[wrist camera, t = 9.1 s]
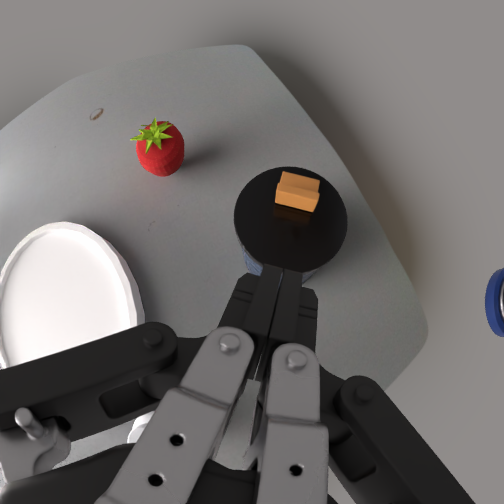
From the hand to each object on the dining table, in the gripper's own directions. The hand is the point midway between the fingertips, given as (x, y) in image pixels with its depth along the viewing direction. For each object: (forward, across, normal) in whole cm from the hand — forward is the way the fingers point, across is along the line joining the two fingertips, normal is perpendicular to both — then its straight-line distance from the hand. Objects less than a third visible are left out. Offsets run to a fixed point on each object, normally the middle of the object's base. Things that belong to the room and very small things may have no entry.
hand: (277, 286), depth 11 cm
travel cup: (+21, 0, +10) cm, 23 cm away
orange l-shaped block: (+14, 0, +1) cm, 14 cm away
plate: (+8, +26, +23) cm, 36 cm away
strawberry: (+26, +17, +5) cm, 31 cm away
